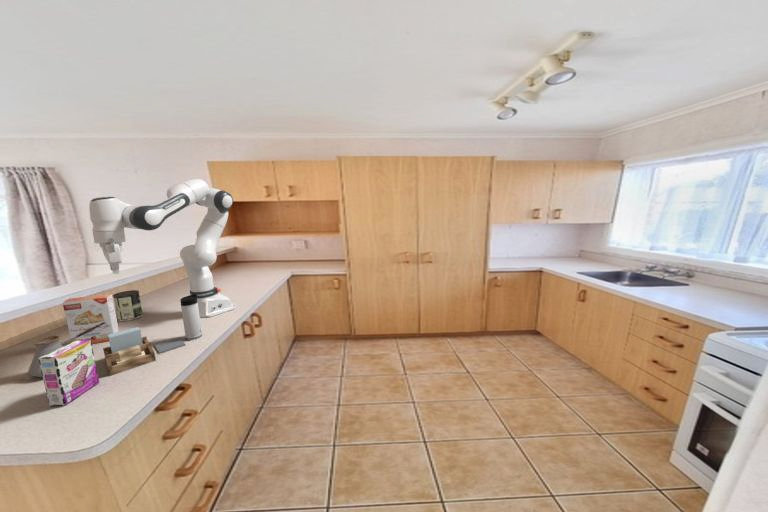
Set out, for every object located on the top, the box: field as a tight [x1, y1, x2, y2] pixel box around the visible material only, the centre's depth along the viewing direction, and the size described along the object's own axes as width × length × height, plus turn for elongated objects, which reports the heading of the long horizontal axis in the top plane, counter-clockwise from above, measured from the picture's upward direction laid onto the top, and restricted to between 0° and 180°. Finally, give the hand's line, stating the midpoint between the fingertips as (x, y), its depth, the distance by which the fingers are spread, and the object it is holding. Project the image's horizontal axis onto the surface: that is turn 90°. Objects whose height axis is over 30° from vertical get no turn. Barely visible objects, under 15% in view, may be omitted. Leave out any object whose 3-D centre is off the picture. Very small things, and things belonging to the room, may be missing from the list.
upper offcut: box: [118, 345, 142, 361], centre depth 103 cm, size 6×3×3 cm, turn 143°
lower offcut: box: [116, 351, 145, 364], centre depth 104 cm, size 8×4×4 cm, turn 139°
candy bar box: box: [38, 340, 100, 407], centre depth 86 cm, size 11×5×16 cm, turn 5°
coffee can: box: [112, 289, 144, 322], centre depth 146 cm, size 10×10×14 cm
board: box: [108, 326, 143, 353], centre depth 108 cm, size 9×4×11 cm, turn 140°
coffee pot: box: [27, 322, 108, 379], centre depth 102 cm, size 21×12×15 cm, turn 134°
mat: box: [153, 336, 186, 355], centre depth 118 cm, size 9×10×1 cm
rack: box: [102, 336, 157, 377], centre depth 106 cm, size 13×16×5 cm
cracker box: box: [62, 293, 120, 345], centre depth 120 cm, size 14×6×21 cm, turn 117°
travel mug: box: [179, 294, 203, 341], centre depth 124 cm, size 6×7×20 cm
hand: (115, 271), depth 109 cm, fingers open, 8 cm apart
